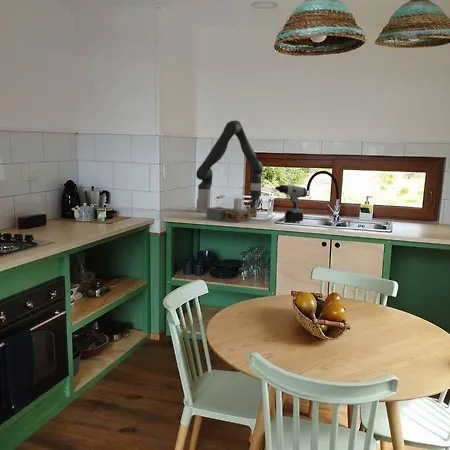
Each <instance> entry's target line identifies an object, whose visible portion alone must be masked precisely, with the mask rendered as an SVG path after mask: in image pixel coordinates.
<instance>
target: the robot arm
mask: <svg viewBox="0 0 450 450" xmlns="http://www.w3.org/2000/svg"><path fill="white" fill-rule="evenodd" d="M234 135H235V136H236V137H237V139H238V141H239V144H240V149H241V151H242V153H243V155H244V157H245V158H246V159H247V162H248V165H249V167H250V168H251V170H252V174H251V179H250V180H251V181H250V189H249V191H250V192H249V196H250V200H249V201H248V204H249V208H252V209H257V210H258V208H259V207H260V206H261V203H262V200H261V198H260V197H261V196H262V175H263V170H264V165H263V163H262V162H261V161H260V160H259V159H258V158H257V155H256V152H255V151H254V149H253V147H252V146H251V144H250V142H249V140H248V138H247V136H246V133H245V131H244V128H243V125H242V124H241V122H240V121H239V120H230V121H228V122H227V123H226V125H225V126H224V129H223V131H222V132H221V135H220V136H219V138H217V140H216V142H215V144H214V145H213V146H212V147H211V150H210V152H209V153H208V155H207V156H206V158H205V159H204V160H203V162H202V163H201V164H200V165H199V167H198V168H197V171H196V173H195V175H196V178H197V180H201V182H200V183H199V184H198V185H197V198H196V212H198V213H207V208H211V188H212V187H211V186H213V185H212V183H213V170H212V169H211V168H212V167H213V166H214V165H216V163H218V162H219V161H220V160H221V159H222V157H223V156H224V155H225V153H226V151H227V149H228V144H229V142H230V140H231V139H232V137H234Z"/></svg>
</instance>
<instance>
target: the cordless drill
mask: <svg viewBox="0 0 450 450" xmlns="http://www.w3.org/2000/svg"><path fill="white" fill-rule="evenodd" d="M274 189H275V190H277V191H278V192H279V193H282V194H284V195H286V196H289V197H290V198H289V200H290V201H291V202H292V205H293V207H292V208H290V207H289V208H288V209H287V210H286V211H285V213H284V220H285V221H287V222H303V221H304V214H303V209H300V203H299V201H298V198H306V197H307V194H308V192H307V191H308V190H307V188H306V187H303V186H298V185H297V186H296V185H291V184H290V185H289V184H280V185H279V186H275V188H274Z"/></svg>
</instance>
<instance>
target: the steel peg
mask: <svg viewBox="0 0 450 450" xmlns="http://www.w3.org/2000/svg"><path fill="white" fill-rule="evenodd" d="M242 203H243V199H242V198H240V197H237V198H233V209H234V211H241V209H242ZM233 218H236V217H233ZM240 218H241V217H240Z"/></svg>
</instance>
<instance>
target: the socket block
mask: <svg viewBox="0 0 450 450" xmlns="http://www.w3.org/2000/svg"><path fill="white" fill-rule="evenodd" d="M229 214H234V215H236V216H235V217H236V218H233V217H232V216H230V217H229ZM244 214H245V217H241V215H244ZM240 217H241V218H240ZM250 218H251V217H250V211H248V210H247V209H242V208H241V211H234V208H229V210H225V220H224V221H228V222H232V223H244V222H250Z"/></svg>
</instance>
